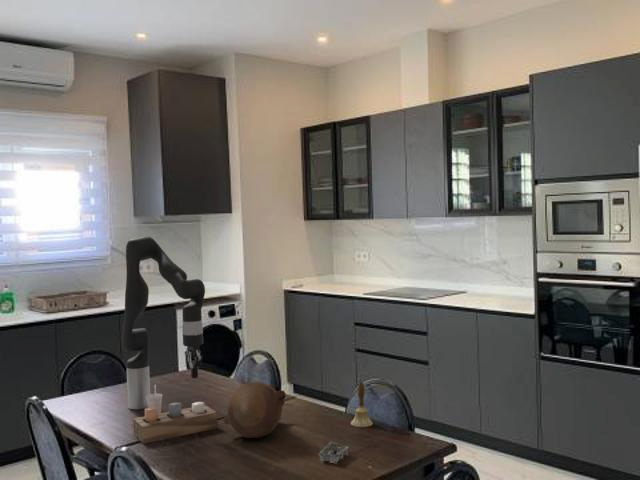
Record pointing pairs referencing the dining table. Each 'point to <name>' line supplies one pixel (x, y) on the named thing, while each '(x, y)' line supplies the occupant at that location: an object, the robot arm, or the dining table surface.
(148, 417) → the brown egg
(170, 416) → the grey rounded cylinder
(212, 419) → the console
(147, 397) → the smoothie
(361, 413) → the hand bell
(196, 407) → the white egg
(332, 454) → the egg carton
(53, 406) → the dining table surface
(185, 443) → the dining table surface
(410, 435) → the dining table surface
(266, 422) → the jug
